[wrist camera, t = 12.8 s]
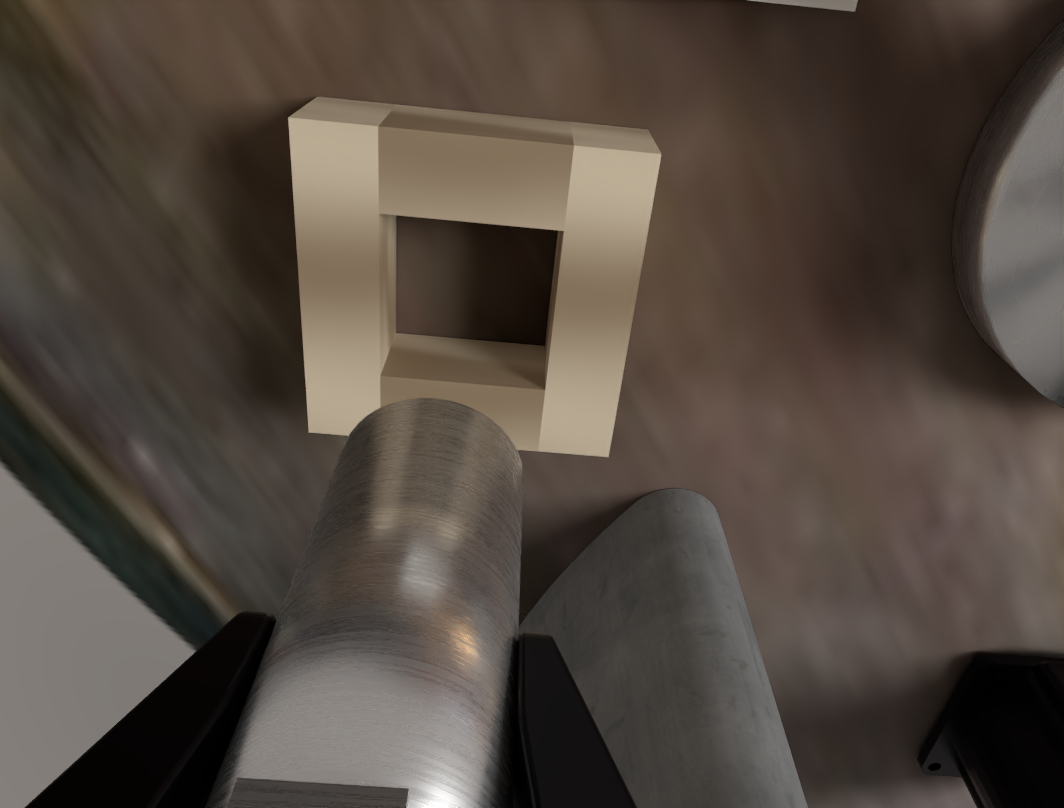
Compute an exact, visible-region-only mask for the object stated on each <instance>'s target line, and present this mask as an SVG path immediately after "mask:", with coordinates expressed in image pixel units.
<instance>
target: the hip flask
mask: <svg viewBox="0 0 1064 808" xmlns="http://www.w3.org/2000/svg"><path fill="white" fill-rule="evenodd" d="M522 632H538V633H548V634H550V635H551V636H552V637H553V639H554V640H555V642H556V644H557V646H558V648H559V650H560V652H561V654H562V656H563V658H564V660H565V662H566V664H567V666H568V668H569V670H570V672H571V674H572V677H573V679H574V681H575V683H576V685H577V687H578V689H579V691H580V693H581V695H582V697H583V699H584V701H585V703H586V705H587V707H588V709H589V711H590V713H591V715H592V717H593V719H594V721H595V723H596V725H597V727H598V729H599V731H600V733H601V735H602V737H603V739H604V741H605V743H606V745H607V747H608V749H609V751H610V753H611V755H612V757H613V759H614V761H615V763H616V765H617V767H618V769H619V772H620V774H621V776H622V778H623V780H624V782H625V784H626V786H627V788H628V790H629V792H630V794H631V796H632V798H633V800H634V802H635V804H636V806H637V808H808V806H807V803H806V800H805V797H804V793H803V790H802V787H801V784H800V780H799V777H798V774H797V771H796V767H795V764H794V761H793V757H792V754H791V751H790V748H789V744H788V741H787V738H786V735H785V731H784V728H783V725H782V722H781V718H780V715H779V712H778V708H777V705H776V702H775V699H774V695H773V692H772V689H771V686H770V682H769V679H768V676H767V673H766V669H765V666H764V663H763V659H762V656H761V653H760V650H759V646H758V643H757V640H756V637H755V633H754V630H753V627H752V624H751V620H750V617H749V614H748V611H747V607H746V604H745V601H744V597H743V594H742V591H741V588H740V584H739V581H738V578H737V575H736V571H735V568H734V565H733V562H732V558H731V555H730V552H729V548H728V545H727V542H726V539H725V535H724V532H723V529H722V526H721V522H720V519H719V516H718V513H717V510H716V509H715V507H714V506H713V504H712V503H711V502H710V501H709V500H708V499H707V498H705V497H704V496H702V495H700V494H699V493H696V492H693V491H691V490H685V489H673V488H671V489H663V490H659V491H655V492H652V493H650V494H648V495H646V496H643V497H642V498H641V499H639V500H638V501H636V502H635V503H634V504H633V505H632V506H630V507H629V508H628V509H627V510H626V511H625V512H624V513H623V514H621V515H620V516H619V517H618V518H617V519H616V520H615V521H613V522H612V523H611V524H610V525H609V526H608V527H607V528H606V529H605V530H604V531H603V532H602V533H601V534H600V535H599V536H598V537H596V538H595V539H594V540H593V541H592V542H591V543H590V544H589V545H588V546H587V547H586V548H585V549H584V550H583V551H582V552H581V553H580V555H579V556H578V557H577V558H576V559H575V560H574V561H573V562H572V563H571V564H570V565H569V566H568V567H567V568H566V569H565V571H564V572H563V573H562V574H561V575H560V576H559V577H558V578H557V579H556V581H555V582H554V583H553V584H552V585H551V586H550V587H549V589H548V590H547V591H546V592H545V594H544V595H543V596H542V597H541V598H540V600H539V601H538V602H537V603H536V605H535V606H534V607H533V608H532V610H531V611H530V612H529V614H528V615H527V616H526V618H525V619H524V620H523V622H522V623H521V624H520V626H519V629H518V636H519V634H520V633H522Z"/></svg>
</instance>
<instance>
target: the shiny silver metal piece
mask: <svg viewBox="0 0 1064 808" xmlns="http://www.w3.org/2000/svg"><path fill="white" fill-rule="evenodd" d="M522 500H523V469H522V463H521V460H520V456H519V454H518V452H517V449H516V447H515V445H514V444H513V442H512V441H511V439H510V438H509V436H508V435H507V434H506V433H505V432H504V431H503V429H502V428H501V427H500V426H498V425H497V424H496V423H495V422H494V421H493V420H491V419H490V418H488V417H487V416H485V415H484V414H483V413H481V412H479V411H477V410H475V409H473V408H471V407H468V406H466V405H463V404H460V403H457V402H453V401H449V400H443V399H436V398H414V399H407V400H402V401H397V402H394V403H391V404H388V405H385V406H383V407H381V408H379V409H377V410H375V411H373V412H372V413H370V414H369V415H367V416H366V417H365V418H364V419H363V420H361V421H360V422H359V423H358V424H357V425H356V426H355V428H354V429H353V430H352V431H351V433H350V434H349V436H348V438H347V440H346V442H345V444H344V447H343V449H342V452H341V454H340V457H339V460H338V462H337V465H336V467H335V470H334V473H333V475H332V478H331V480H330V483H329V486H328V488H327V491H326V493H325V496H324V499H323V501H322V504H321V507H320V509H319V512H318V514H317V517H316V520H315V522H314V525H313V527H312V530H311V533H310V535H309V538H308V540H307V543H306V546H305V548H304V551H303V553H302V556H301V559H300V561H299V564H298V566H297V569H296V572H295V574H294V577H293V579H292V582H291V585H290V587H289V590H288V592H287V595H286V598H285V600H284V603H283V605H282V608H281V611H280V613H279V616H278V618H277V621H276V624H275V626H274V629H273V631H272V634H271V637H270V639H269V642H268V644H267V647H266V650H265V652H264V655H263V657H262V660H261V663H260V665H259V668H258V671H257V673H256V676H255V678H254V681H253V684H252V686H251V689H250V691H249V694H248V697H247V699H246V702H245V704H244V707H243V710H242V712H241V715H240V717H239V720H238V723H237V725H236V728H235V730H234V733H233V736H232V738H231V741H230V743H229V746H228V749H227V751H226V754H225V756H224V759H223V762H222V764H221V767H220V769H219V772H218V775H217V777H216V780H215V782H214V785H213V788H212V790H211V793H210V795H209V798H208V801H207V803H206V806H205V808H513V790H514V724H515V693H516V663H517V640H518V629H519V597H520V564H521V532H522Z"/></svg>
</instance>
